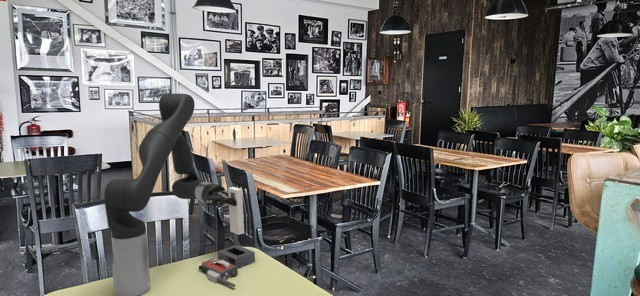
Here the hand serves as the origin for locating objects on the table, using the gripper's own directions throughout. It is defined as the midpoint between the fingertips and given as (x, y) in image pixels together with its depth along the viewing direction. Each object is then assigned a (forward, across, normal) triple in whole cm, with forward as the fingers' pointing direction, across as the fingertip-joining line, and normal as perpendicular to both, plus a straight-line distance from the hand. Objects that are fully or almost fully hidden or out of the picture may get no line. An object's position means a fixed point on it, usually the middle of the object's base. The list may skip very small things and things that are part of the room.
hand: (239, 202), depth 143 cm
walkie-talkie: (+4, -10, +22) cm, 24 cm away
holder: (-3, 0, +21) cm, 21 cm away
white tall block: (-2, 0, +11) cm, 11 cm away
